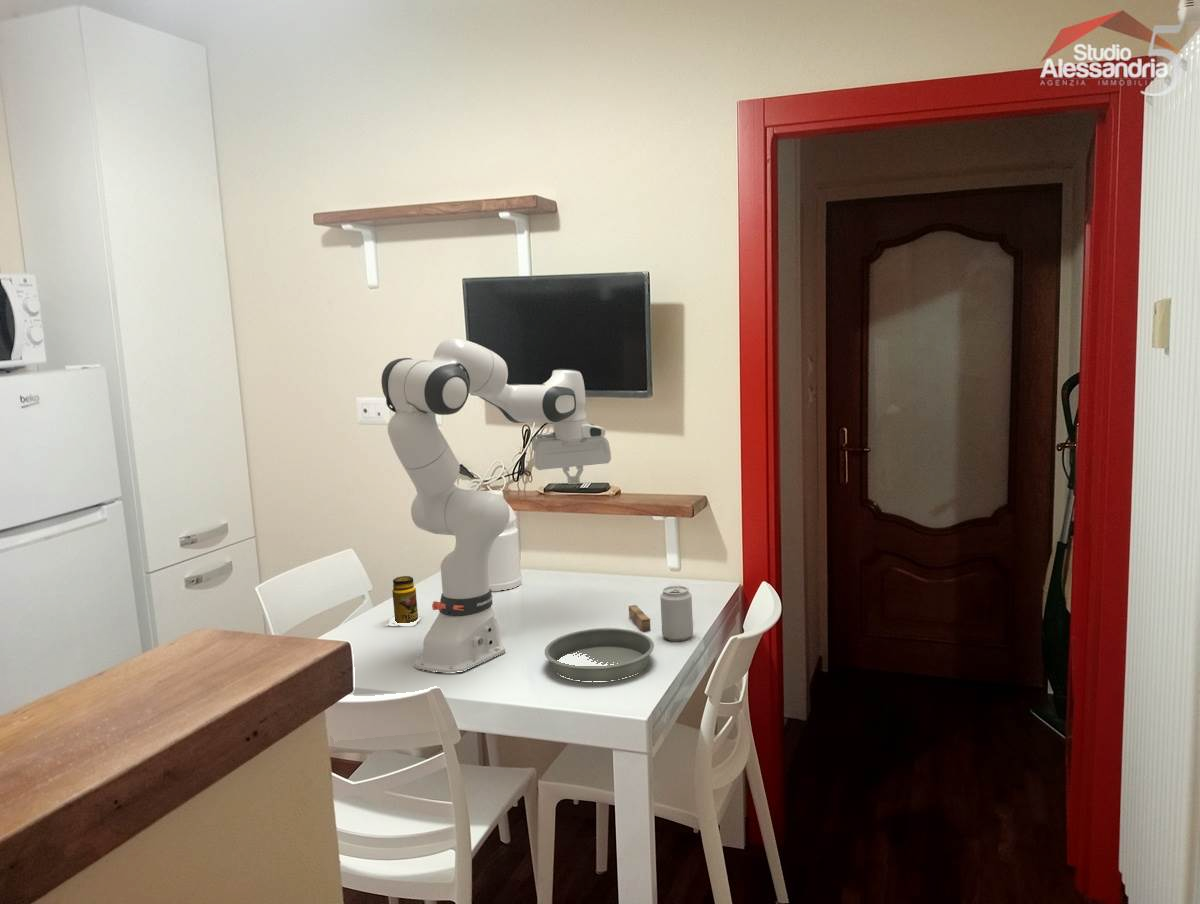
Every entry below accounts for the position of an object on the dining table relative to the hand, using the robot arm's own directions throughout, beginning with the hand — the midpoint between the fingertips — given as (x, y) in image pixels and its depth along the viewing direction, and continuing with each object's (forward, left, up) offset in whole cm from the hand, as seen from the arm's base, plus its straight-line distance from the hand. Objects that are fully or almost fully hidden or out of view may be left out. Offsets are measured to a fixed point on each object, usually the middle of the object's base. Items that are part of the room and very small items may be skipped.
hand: (573, 483), depth 247 cm
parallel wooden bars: (-3, -24, -34) cm, 42 cm away
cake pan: (-34, -22, -35) cm, 53 cm away
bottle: (+13, +34, -34) cm, 50 cm away
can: (-12, -32, -34) cm, 49 cm away
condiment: (-23, +41, -34) cm, 58 cm away
